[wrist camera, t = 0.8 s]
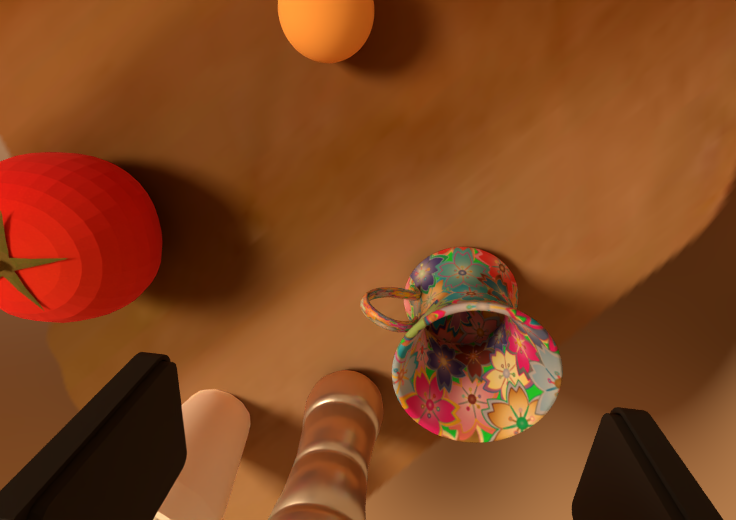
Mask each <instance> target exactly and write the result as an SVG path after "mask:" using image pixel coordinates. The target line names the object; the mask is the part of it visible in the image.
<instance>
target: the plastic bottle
mask: <svg viewBox="0 0 736 520" xmlns="http://www.w3.org/2000/svg"><path fill="white" fill-rule="evenodd" d="M383 416H384V414H383V402H382V396H381V393H380V391H379V389H378V387H377V386H376V385H375V384H374V382H372V381H371V380H370V379H369V378H368V377H366V376H365V375H363V374H361V373H359V372H356V371H350V370H342V371H337V372H333V373H331V374H328V375H326V376H324V377H323V378H322V379H320V380H319V381H318V382H317V384H316V385H315V387H314V388H313V390H312V391H311V393H310V394H309V396H308V398H307V401H306V405H305V411H304V418H303V430H302V434H301V439H300V443H299V448H298V452H297V456H296V459H295V461H294V464H293V466H292V469H291V472H290V474H289V477H288V479H287V482H286V484H285V487H284V489H283V491H282V493H281V495H280V497H279V499H278V501H277V503H276V505H275V507H274V508H273V510H272V512H271V514H270V516H269V518H268V520H365V519H366V517H365V505H366V492H367V479H368V468H369V464H370V460H371V456H372V451H373V447H374V443H375V441H376V439H377V436H378V434H379V431H380V428H381V424H382V420H383Z"/></svg>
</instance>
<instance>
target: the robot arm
mask: <svg viewBox="0 0 736 520" xmlns="http://www.w3.org/2000/svg"><path fill="white" fill-rule="evenodd" d="M186 458H187V447H186V439H185V431H184V423H183V414H182V406H181V398H180V390H179V382H178V374H177V367H176V364H175V363H173V362H170V358H169V357H168V356H167V355H163V354H155V353H146V352H140V353H138V354H137V355H135V356H134V357H133V358H132V359H131V360H130V361H129V362H128V363H127V364H126V365H125V366H124V367H123V368H122V369H121V370H120V371H119V372H118V373H117V374H116V375H115V376H114V377H113V378H112V379H111V380H110V381H109V382H108V383H107V384H106V385H105V386H104V387H103V388H102V389H101V390H100V391H99V392H98V393H97V394H96V395H95V396H94V397H93V398H92V399H91V400H90V401H89V402H88V403H87V404H86V405H85V406H84V407H83V408H82V409H81V410H80V411H79V412H78V413H77V415H75V416H74V417H73V418H72V420H70V422H69V423H68V424H67V425H66V426H65V427H64V428H63V429H62V430H61V431H60V432H59V433H58V434H57V435H56V436H55V437H54V438H53V439H52V440H51V441H50V442H49V443H48V444H47V445H46V446H45V447H44V448H43V449H42V450H41V451H40V452H39V453H38V454H37V455H36V456H35V457H34V458H33V459H32V460H31V461H30V462H29V463H28V464H27V465H26V466H25V467H24V468H23V469H22V470H21V471H20V472H19V473H18V474H17V475H16V476H15V477H14V478H13V479H12V480H11V481H10V482H9V483H8V484H7V485H6V486H5V487H4V488H3V489H2V490H1V491H0V520H153V519H154V517H155V515H156V514H157V512H158V510H159V508H160V507H161V505H162V503H163V502H164V500H165V498H166V497H167V495H168V493H169V491H170V490H171V488H172V486H173V485H174V483H175V481H176V480H177V478H178V476H179V474H180V473H181V471H182V469H183V467H184V465H185V462H186ZM572 516H573V520H723V519H722V517H721V516H720V514H719V513H718V512H717V510H716V509H715V507H714V506H713V504H712V503H711V501H710V500H709V499H708V497H707V496H706V494H705V493H704V491H703V490H702V488H701V487H700V486H699V484H698V483H697V481H696V480H695V478H694V477H693V476H692V474H691V473H690V471H689V470H688V468H687V467H686V465H685V464H684V463H683V461H682V460H681V458H680V457H679V455H678V454H677V453H676V451H675V450H674V448H673V447H672V446H671V444H670V443H669V441H668V440H667V438H666V437H665V435H664V434H663V432H662V431H661V430H660V428H659V427H658V425H657V424H656V422H655V421H654V420H653V418H652V417H651V415H650V414H649V413H648V412H646V411H644V410H636V409H627V408H619V407H617V408H614V409H613V410H612V411H611V413H610V414H609V413H606V414H604V415H603V417H602V419H601V423H600V425H599V428H598V431H597V433H596V436H595V439H594V442H593V445H592V448H591V450H590V453H589V456H588V459H587V462H586V465H585V468H584V470H583V473H582V476H581V479H580V482H579V485H578V488H577V490H576V493H575V496H574V499H573V502H572Z"/></svg>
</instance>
